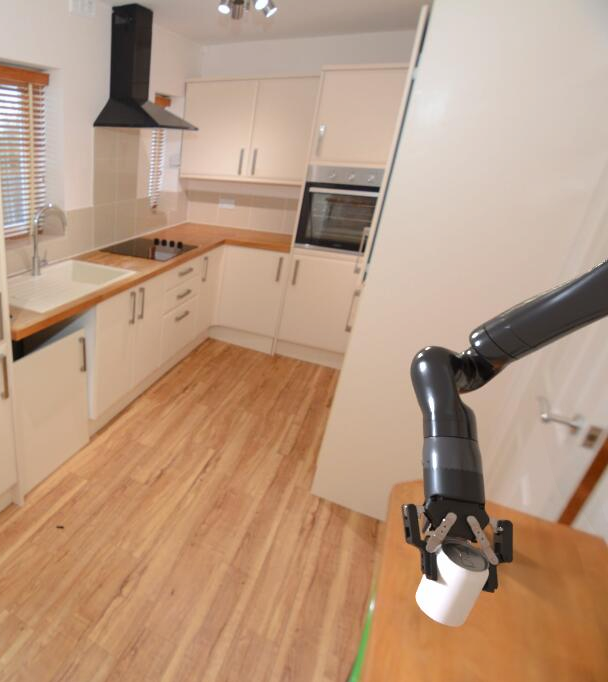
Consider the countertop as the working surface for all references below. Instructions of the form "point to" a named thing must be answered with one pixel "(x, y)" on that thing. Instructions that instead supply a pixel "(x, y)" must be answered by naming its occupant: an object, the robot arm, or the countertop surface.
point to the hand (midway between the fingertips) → (459, 585)
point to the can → (453, 583)
